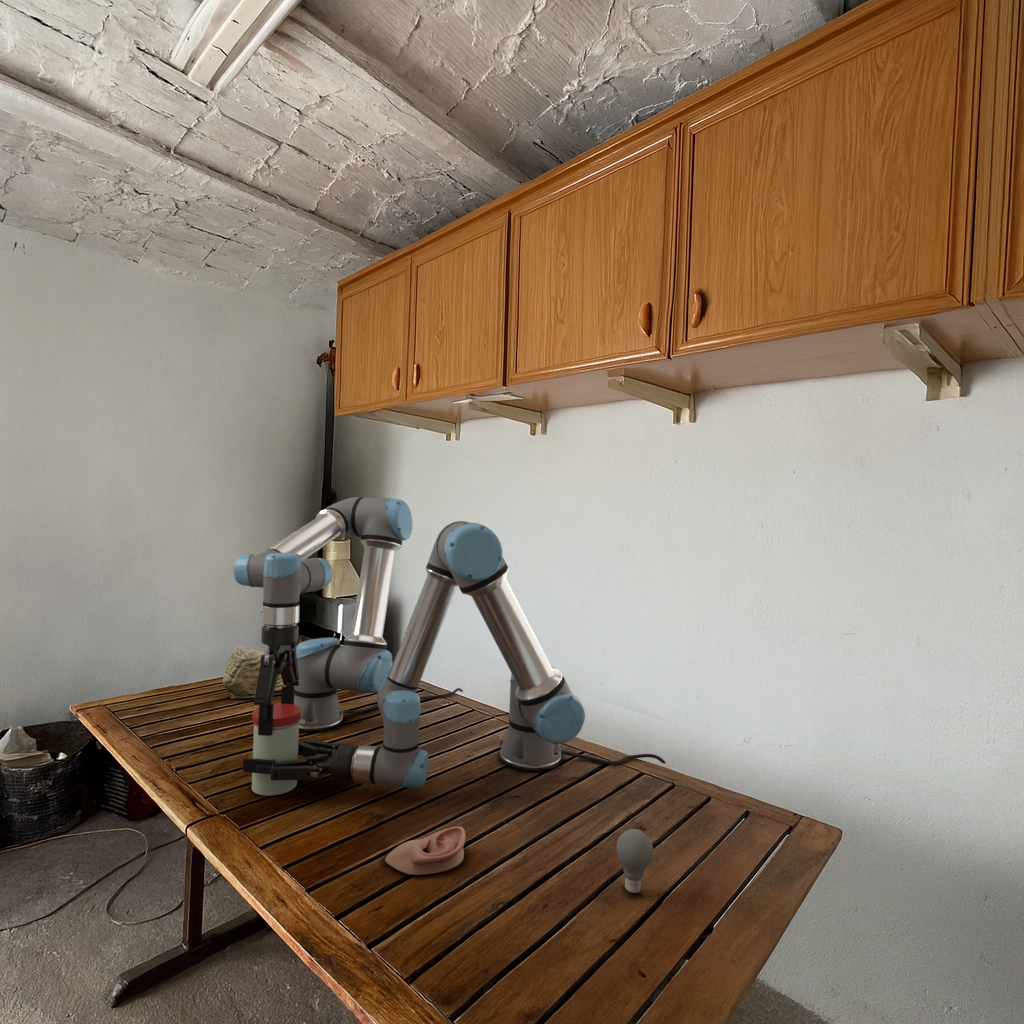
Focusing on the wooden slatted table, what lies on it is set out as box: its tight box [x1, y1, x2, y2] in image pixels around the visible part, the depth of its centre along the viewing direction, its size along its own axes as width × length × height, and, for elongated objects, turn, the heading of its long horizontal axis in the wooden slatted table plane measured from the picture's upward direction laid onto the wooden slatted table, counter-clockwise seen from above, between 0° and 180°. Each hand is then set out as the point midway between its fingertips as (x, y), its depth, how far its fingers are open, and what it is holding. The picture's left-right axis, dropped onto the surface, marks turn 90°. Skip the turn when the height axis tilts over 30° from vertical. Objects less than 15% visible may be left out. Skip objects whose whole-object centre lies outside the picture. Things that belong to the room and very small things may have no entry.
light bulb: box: [615, 828, 654, 894], centre depth 106 cm, size 6×6×10 cm
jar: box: [251, 721, 300, 797], centre depth 138 cm, size 9×9×16 cm
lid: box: [251, 703, 301, 727], centre depth 138 cm, size 10×10×2 cm
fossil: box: [222, 646, 286, 699], centre depth 198 cm, size 9×18×15 cm, turn 132°
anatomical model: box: [384, 826, 466, 876], centre depth 113 cm, size 13×4×12 cm
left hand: (276, 724), depth 138 cm, fingers open, 11 cm apart
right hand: (255, 755), depth 138 cm, fingers closed on jar, 9 cm apart
